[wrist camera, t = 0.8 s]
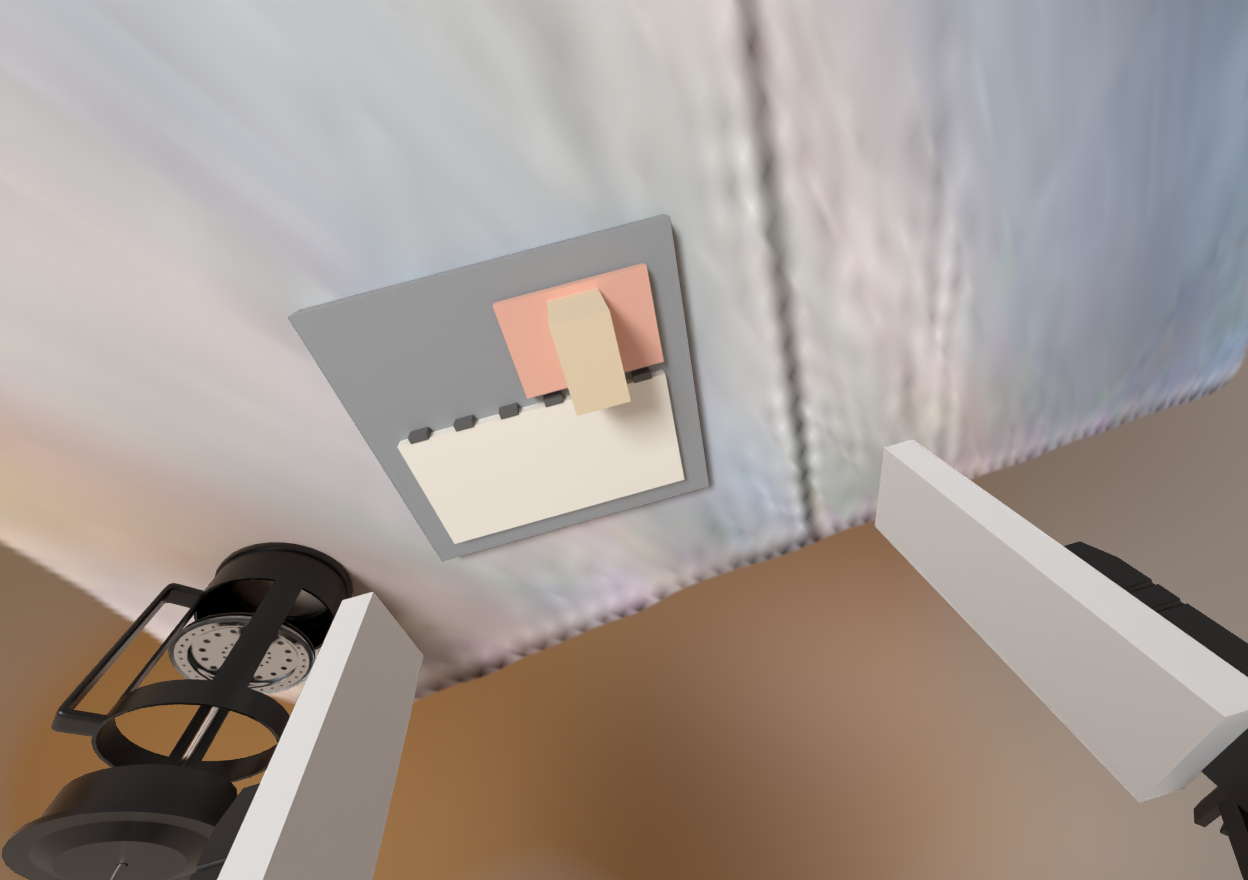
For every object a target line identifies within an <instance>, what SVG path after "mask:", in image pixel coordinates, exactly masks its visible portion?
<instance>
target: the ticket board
mask: <svg viewBox="0 0 1248 880" xmlns="http://www.w3.org/2000/svg"><path fill="white" fill-rule="evenodd" d="M641 263H644V264H646V266H647V271H648V277H649V282H650V288H651V293H652V299H653V304H654V310H655V316H656V321H657V327H658V332H659V338H660V343H661V349H662V354H663V360H664V362H661V363H657V364H653V365H650V366H646V367H642V368H639V369H635V370H631V371H628V372H624V374H625V378H626V383H627V387H628V391H629V395H630V400H631V402H627V403H623V404H620V405H616V406H612V407H609V408H605V409H601V410H598V411H594V412H590V413H587V414H583V415H579V416H577V415H576V411H575V408H574V405H573V402H572V399H571V396H570V392H569V389H568V388H565V389H561V390H558V391H554V392H550V393H547V394H543V395H539V396H536V397H532V398H528V399H527V397H526V394H525V391H524V389H523V386H522V383H521V381H520V378H519V375H518V373H517V370H516V367H515V365H514V362H513V359H512V357H511V354H510V351H509V349H508V346H507V343H506V341H505V338H504V335H503V333H502V330H501V327H500V325H499V322H498V320H497V317H496V314H495V312H494V309H493V303H494V302H498V301H502V300H506V299H509V298H513V297H517V296H521V295H525V294H528V293H532V292H536V291H540V290H543V289H547V288H551V287H555V286H558V285H562V284H566V283H570V282H573V281H577V280H581V279H585V278H589V277H592V276H596V275H600V274H604V273H607V272H611V271H615V270H619V269H622V268H626V267H630V266H634V265H637V264H641ZM288 319H289V320H290V322H291V323H292V325H293V327H294V328H295V330H296V331H297V333H298V335H299V336H300V338H301V339H302V341H303V342H304V344H305V346H306V347H307V349H308V350H309V352H310V354H311V355H312V357H313V358H314V360H315V361H316V363H317V365H318V366H319V368H320V369H321V371H322V373H323V374H324V376H325V377H326V379H327V380H328V382H329V384H330V385H331V387H332V388H333V390H334V392H335V393H336V395H337V396H338V398H339V399H340V401H341V403H342V404H343V406H344V407H345V409H346V411H347V412H348V414H349V415H350V417H351V418H352V420H353V422H354V423H355V425H356V426H357V428H358V430H359V431H360V433H361V434H362V436H363V437H364V439H365V441H366V442H367V444H368V445H369V447H370V449H371V450H372V452H373V453H374V455H375V456H376V458H377V460H378V461H379V463H380V464H381V466H382V468H383V469H384V471H385V472H386V474H387V475H388V477H389V479H390V480H391V482H392V483H393V485H394V487H395V488H396V490H397V491H398V493H399V494H400V496H401V498H402V499H403V501H404V502H405V504H406V506H407V507H408V509H409V510H410V512H411V513H412V515H413V517H414V518H415V520H416V521H417V523H418V525H419V526H420V528H421V529H422V531H423V532H424V534H425V536H426V537H427V539H428V540H429V542H430V544H431V545H432V547H433V548H434V550H435V551H436V553H437V555H438V556H439V558H440V559H441V561H446V560H449V559H453V558H456V557H460V556H463V555H467V554H470V553H474V552H478V551H481V550H485V549H488V548H492V547H495V546H499V545H502V544H506V543H510V542H513V541H517V540H520V539H524V538H527V537H531V536H534V535H538V534H542V533H545V532H549V531H552V530H556V529H559V528H563V527H567V526H570V525H574V524H577V523H581V522H584V521H588V520H591V519H595V518H599V517H602V516H606V515H609V514H613V513H616V512H620V511H623V510H627V509H631V508H634V507H638V506H641V505H645V504H648V503H652V502H655V501H659V500H663V499H666V498H670V497H673V496H677V495H680V494H684V493H688V492H691V491H695V490H698V489H702V488H705V487H709V483H708V476H707V469H706V462H705V455H704V448H703V441H702V435H701V428H700V421H699V414H698V407H697V400H696V393H695V386H694V379H693V372H692V366H691V359H690V352H689V345H688V338H687V331H686V324H685V317H684V310H683V303H682V297H681V290H680V283H679V276H678V269H677V262H676V255H675V248H674V241H673V234H672V228H671V221H670V216H667V215H664V214H663V215H659V216H655V217H651V218H648V219H644V220H640V221H636V222H632V223H629V224H625V225H621V226H617V227H613V228H610V229H606V230H602V231H598V232H594V233H591V234H587V235H583V236H579V237H575V238H572V239H568V240H564V241H560V242H556V243H553V244H549V245H545V246H541V247H537V248H533V249H530V250H526V251H522V252H518V253H514V254H511V255H507V256H503V257H499V258H495V259H492V260H488V261H484V262H480V263H476V264H473V265H469V266H465V267H461V268H457V269H454V270H450V271H446V272H442V273H438V274H435V275H431V276H427V277H423V278H419V279H416V280H412V281H408V282H404V283H400V284H397V285H393V286H389V287H385V288H381V289H378V290H374V291H370V292H366V293H362V294H359V295H355V296H351V297H347V298H343V299H340V300H336V301H332V302H328V303H324V304H320V305H317V306H313V307H309V308H305V309H301V310H299V311H297V312H295V313H294V314H292V315H290V316H289V317H288Z"/></svg>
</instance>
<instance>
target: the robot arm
mask: <svg viewBox="0 0 1248 880" xmlns="http://www.w3.org/2000/svg"><path fill="white" fill-rule="evenodd" d="M875 527H876V528H877V529H878V530H879V531H880V532H881V533H882V534H883V535H884V536H885V537H886V538H887V539H888V541H889V542H890V543H891V544H892V545H893V546H894V547H895V548H896V549H897V550H898V551H899V552H900V553H901V554H902V555H903V556H904V557H905V558H906V559H907V560H908V562H909V563H910V564H911V565H912V566H913V567H914V568H915V569H916V570H917V571H918V572H919V573H920V574H921V575H922V576H923V577H924V578H925V579H926V580H927V581H928V582H929V583H930V584H931V586H933V588H934V589H935V590H936V591H937V592H938V593H939V594H940V595H941V596H942V597H943V598H944V599H945V600H946V601H947V602H948V603H949V604H950V605H951V606H952V607H953V608H954V610H955V611H957V613H958V614H959V615H960V616H961V617H962V618H963V619H964V620H965V621H966V622H967V623H968V624H969V625H970V626H971V627H972V628H973V629H974V630H975V631H976V632H977V634H978V635H979V636H980V637H981V638H982V639H983V640H984V641H985V642H986V643H987V644H988V645H989V646H990V647H991V648H992V649H993V650H994V651H995V652H996V653H997V654H998V655H999V656H1000V658H1001V659H1002V660H1003V661H1004V662H1005V663H1006V664H1007V665H1008V666H1009V667H1010V668H1011V669H1012V670H1013V671H1014V672H1015V673H1016V674H1017V675H1018V676H1019V677H1020V678H1021V680H1022V681H1023V682H1024V683H1025V684H1026V685H1027V686H1028V687H1029V688H1030V689H1031V690H1032V691H1033V692H1034V693H1035V694H1036V695H1037V696H1038V697H1039V698H1040V699H1041V700H1042V702H1044V704H1046V706H1047V707H1048V708H1049V709H1050V710H1051V711H1052V712H1053V713H1054V714H1055V715H1056V716H1057V717H1058V718H1059V719H1060V720H1061V721H1062V722H1063V723H1064V724H1065V726H1067V728H1068V729H1069V730H1070V731H1071V732H1072V733H1073V734H1074V735H1075V736H1076V737H1077V738H1078V739H1079V740H1080V741H1081V742H1082V743H1083V744H1084V745H1085V746H1086V747H1087V748H1088V750H1089V751H1090V752H1091V753H1092V754H1093V755H1094V756H1095V757H1096V758H1097V759H1098V760H1099V761H1100V762H1101V763H1102V764H1103V765H1104V766H1105V767H1106V768H1107V769H1108V770H1109V772H1110V773H1111V774H1112V775H1113V776H1114V777H1115V778H1116V779H1117V780H1118V781H1119V782H1120V783H1121V784H1122V785H1123V786H1124V787H1125V788H1126V789H1127V790H1128V791H1129V792H1130V793H1131V794H1132V795H1133V796H1134V797H1135V799H1136V800H1137V801H1138V802H1139V803H1140V802H1143V801H1146V800H1149V799H1152V798H1156V797H1159V796H1162V795H1165V794H1168V793H1172V792H1174V791H1178V790H1181V789H1184V788H1185V787H1186V786H1187V785H1188V784H1189V783H1190V782H1191V781H1193V780H1194V778H1196V777H1197V776H1198V775H1199V774H1200V773H1201V772H1203V773H1204V774H1205V775H1206V776H1207V777H1208V778H1209V779H1210V780H1211V781H1213V782H1214V783H1215V784H1216V785H1217V786H1218V787H1217V788H1216V789H1214V790H1213V791H1212V792H1211V793H1210V794H1208V795H1207V796H1206V797H1205V798H1204V799H1202V800H1201V801H1200V803H1199V804H1198V805H1197V806H1196V807H1195V808H1194V822H1195V824H1198V825H1201V826H1203V827H1206V826H1207V825H1208V824H1210V823H1211V822H1212V821H1214V820H1215V819H1216V818H1217V817H1219V816H1220V815H1221V816H1222V819H1223V822H1224V823H1223V825H1222V827H1221V829H1220V833H1222V834H1224V835H1227V836H1229V839H1230V842H1231V845H1232V848H1233V851H1234V854H1235V856H1236V859H1237V862H1238V865H1239V868H1240V871H1241V874H1242V877H1243V879H1244V880H1248V643H1246V642H1245V641H1243V640H1242V639H1240V638H1239V637H1237V636H1236V635H1234V634H1233V633H1231V632H1230V631H1228V630H1226V629H1225V628H1224V627H1222V626H1220V625H1219V624H1217V623H1216V622H1215V621H1213V620H1212V619H1210V618H1208V617H1207V616H1206V615H1204V614H1202V613H1201V612H1200V611H1198V610H1196V609H1195V608H1194V607H1192V606H1190V605H1189V604H1184V603H1182V602H1181V601H1180V598H1178V597H1177V596H1175V595H1174V594H1172V593H1171V592H1169V591H1168V590H1166V589H1165V588H1163V587H1162V586H1160V585H1159V584H1157V585H1155V584H1153V583H1152V580H1151V579H1150V578H1148V577H1147V576H1145V575H1143V574H1142V573H1141V572H1139V571H1138V570H1136V569H1134V568H1133V567H1131V566H1130V565H1129V564H1127V563H1126V562H1124V561H1122V560H1121V559H1119V558H1118V557H1116V556H1113V555H1111V554H1109V553H1106V552H1104V551H1101V550H1099V549H1097V548H1094V547H1092V546H1089V545H1087V544H1085V543H1082V542H1076V543H1073V544H1069V545H1066V546H1062V545H1061V544H1059V543H1058V542H1056V541H1055V540H1054V539H1052V538H1051V537H1049V536H1048V535H1046V534H1045V533H1044V532H1042V531H1041V530H1039V529H1038V528H1037V527H1035V526H1034V525H1032V524H1031V523H1030V522H1028V521H1027V520H1025V519H1024V518H1023V517H1021V516H1020V515H1018V514H1017V513H1015V512H1014V511H1013V510H1011V509H1010V508H1009V507H1007V506H1006V505H1004V504H1003V503H1001V502H1000V501H999V500H997V499H996V498H995V497H993V496H992V495H990V494H989V493H987V492H986V491H985V490H983V489H982V488H980V487H979V486H978V485H976V484H975V483H973V482H972V481H971V480H969V479H968V478H966V477H965V476H964V475H962V474H961V473H959V472H958V471H956V470H955V469H954V468H952V467H951V466H949V465H948V464H947V463H945V462H944V461H942V460H941V459H940V458H938V457H937V456H935V455H934V454H933V453H931V452H930V451H928V450H927V449H926V448H924V447H923V446H921V445H920V444H918V443H917V442H916V441H914V440H913V439H912V440H909V441H905V442H902V443H898V444H895V445H891V446H887V447H884V452H883V460H882V469H881V477H880V486H879V494H878V503H877V511H876V520H875ZM423 658H424V656H423V654H422V653H421V652H420V650H419V649H418V648H417V647H416V645H415V644H414V643H413V641H412V640H411V639H410V638H409V636H408V635H407V634H406V633H405V631H404V630H403V629H402V627H401V626H400V625H399V624H398V622H397V621H396V620H395V619H394V617H393V616H392V615H391V613H390V612H389V611H388V610H387V608H386V607H385V606H384V604H383V603H382V602H381V601H380V599H379V598H378V597H377V596H376V594H375V593H374V592H370V593H367V594H363V595H360V596H356V597H352V598H349V599H345V600H342V602H341V605H340V607H339V609H338V611H337V613H336V616H335V618H334V620H333V622H332V625H331V627H330V629H329V631H328V634H327V636H326V638H325V640H324V642H323V645H322V647H321V649H320V651H319V654H318V656H317V658H316V660H315V663H314V665H313V667H312V669H311V671H310V674H309V676H308V678H307V680H306V683H305V685H304V687H303V689H302V692H301V694H300V696H299V698H298V700H297V703H296V705H295V707H294V709H293V712H292V714H291V716H290V718H289V720H288V723H287V725H286V727H285V729H284V732H283V734H282V736H281V738H280V741H279V743H278V745H277V747H276V749H275V752H274V754H273V756H272V758H271V761H270V763H269V765H268V767H267V770H266V772H265V774H264V776H263V778H262V781H261V783H259V784H256V785H253V786H249V787H246V788H243V789H242V791H241V792H240V793H239V795H238V796H237V797H236V799H235V800H234V801H233V803H232V804H231V805H230V807H229V808H228V810H227V811H226V812H225V814H224V815H223V816H222V818H221V819H220V820H219V822H218V823H217V824H216V826H215V828H214V830H213V832H212V834H211V836H210V838H209V840H208V842H207V844H206V846H205V848H204V851H203V853H202V855H201V857H200V859H199V861H198V863H197V865H196V866H197V870H196V872H195V873H193V874H192V875H191V877H190V879H189V880H373V876H374V871H375V867H376V863H377V858H378V854H379V849H380V845H381V841H382V837H383V831H384V828H385V823H386V819H387V815H388V810H389V806H390V802H391V797H392V793H393V788H394V784H395V780H396V775H397V771H398V766H399V762H400V758H401V754H402V749H403V745H404V740H405V735H406V732H407V727H408V723H409V719H410V714H411V710H412V706H413V701H414V697H415V693H416V688H417V684H418V679H419V675H420V671H421V666H422V662H423Z"/></svg>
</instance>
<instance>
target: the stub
mask: <svg viewBox="0 0 1248 880" xmlns="http://www.w3.org/2000/svg"><path fill="white" fill-rule="evenodd" d="M493 309H494V312H495V314H496V317H497V320H498V322H499V325H500V327H501V330H502V333H503V335H504V338H505V341H506V343H507V346H508V349H509V351H510V354H511V357H512V359H513V362H514V365H515V367H516V370H517V373H518V375H519V378H520V381H521V383H522V386H523V389H524V391H525V394H526V397H527V399H528V398H532V397H536V396H539V395H543V394H547V393H550V392H554V391H558V390H561V389H565V388H568V389H569V392H570V396H571V399H572V402H573V405H574V408H575V411H576V415H577V416H579V415H583V414H587V413H590V412H594V411H598V410H601V409H605V408H609V407H612V406H616V405H620V404H623V403H627V402H631V400H630V395H629V391H628V387H627V383H626V378H625V374H624V372H628V371H631V370H635V369H639V368H642V367H646V366H650V365H653V364H657V363H661V362H664V360H663V354H662V349H661V343H660V338H659V332H658V327H657V321H656V316H655V310H654V304H653V299H652V293H651V288H650V282H649V277H648V271H647V266H646V264H644V263H641V264H637V265H634V266H630V267H626V268H622V269H619V270H615V271H611V272H607V273H604V274H600V275H596V276H592V277H589V278H585V279H581V280H577V281H573V282H570V283H566V284H562V285H558V286H555V287H551V288H547V289H543V290H540V291H536V292H532V293H528V294H525V295H521V296H517V297H513V298H509V299H506V300H502V301H498V302H494V303H493Z"/></svg>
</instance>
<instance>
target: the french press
mask: <svg viewBox="0 0 1248 880" xmlns="http://www.w3.org/2000/svg"><path fill="white" fill-rule="evenodd" d="M242 580H268V581H275V582H274V583H273V585H272V586H271V588H270V589H269V591H268V593H267V594H266V596H265V597H264V599H263V600H262V602H261V604H260V605H259V607H258V608H257V609H255V608H253V607H252V606H250V605H249V604H247V603H246V602H245V601H244V600H243V599H242V598H241V597H240V595H239V594H238V592H237V590H236V587H235V581H242ZM301 590H304V591H306V592H308V593H310V594H312V595H313V596H314V597H316V598H317V599H318V600H320V601H321V602H322V603H323V604H324V605H325V606H326V608H325V609H324V610H322V611H320V612H318V613H316V614H313V615H309V616H304V617H290V618H289V617H287V615H288V613H289V611H290V609H291V608H292V606H293V604H294V602H295V600H296V599H297V597H298V595H299V593H300V591H301ZM352 592H353V588H352V582H351V580H350V578H349V576H348V574H347V572H346V571H345V570H344V569H343V568H342V566H341V565H339V564H338V563H337V562H336V561H335V560H333V559H332V558H330V557H328V556H327V555H325V554H323V553H321V552H318V551H316V550H314V549H311V548H308V547H304V546H300V545H296V544H288V543H262V544H255V545H251V546H248V547H244V548H242V549H240V550H238V551H236V552H234V553H232V554H231V555H230V556H228V557H227V558H226V559H225V560H224V561H223V562H222V563H221V565H220V566H219V568H218V569H217V571H216V574H215V578H214V579H213V580H212V582H211V583H210V584H209V585H208V587H207V588H206V589H205V590H204V591H203V590H199V589H195V588H191V587H188V586H184V585H180V584H176V583H172V584H169V585H168V586H166V587H165V588H164V589H163V590H162V592H161V593H160V594H159V595H158V596H157V597H156V598H155V600H154V601H153V602H152V603H151V604H150V605H149V606H148V607H147V609H146V610H145V611H144V612H143V613H142V614H141V615H140V616H139V618H138V619H137V620H136V621H135V622H134V623H133V624H132V625H131V627H130V628H129V629H128V630H127V631H126V632H125V633H124V635H123V636H122V637H121V638H120V639H119V640H118V641H117V643H116V644H115V645H114V646H113V647H112V648H111V649H110V651H108V653H107V654H106V655H105V656H104V657H103V658H102V659H101V661H100V662H99V663H98V664H97V665H96V666H95V667H94V668H93V670H92V671H91V672H90V673H89V674H88V675H87V676H86V678H85V679H84V680H83V681H82V682H81V683H80V685H78V687H77V688H76V689H75V690H74V691H73V692H72V693H71V694H70V696H69V697H68V698H67V699H66V700H65V701H64V703H63V704H62V705H61V706H60V707H59V709H58V711H57V712H56V715H55V718H54V720H53V723H52V727H51V728H52V729H53V730H55V731H58V732H64V733H71V734H78V735H85V736H92V746H93V750H94V751H95V753H96V754H97V755H98V757H99V758H100V759H101V760H102V761H104V762H105V763H106V764H108V765H109V766H110V767H112V768H107V769H102V770H99V771H95V772H92V773H88V774H85V775H83V776H81V777H79V778H76V779H74V780H72V781H71V782H70V783H68V784H67V785H66V786H64V787H63V788H62V790H61V791H60V792H59V793H58V795H57V796H56V797H55V799H54V800H53V801H52V803H51V804H50V805H49V807H48V808H47V809H46V811H45V812H44V813H43V814H42V816H41V817H40V818H39V819H36V820H34V821H32V822H30V823H28V824H26V825H24V826H23V827H21V828H20V829H18V830H17V831H16V832H14V834H13V835H12V836H11V838H10V839H9V840H8V842H7V843H6V845H5V846H4V847H3V850H2V858H3V860H4V862H5V864H6V865H7V866H8V867H9V868H10V869H12V870H13V871H14V872H15V873H17V874H19V875H21V876H23V877H25V878H27V879H29V880H189V879H190V877H191V875H192V874H193V873H195V872H196V870H197V866H196V865H197V863H198V861H199V859H200V857H201V855H202V853H203V851H204V848H205V846H206V844H207V842H208V840H209V838H210V836H211V834H212V832H213V830H214V828H215V826H216V824H217V823H218V822H219V820H220V819H221V818H222V816H223V815H224V814H225V812H226V811H227V810H228V808H229V807H230V805H231V804H232V803H233V801H234V800H235V799H236V797H237V789H236V787H235V786H234V785H233V784H232V783H231V782H236V781H239V780H243V779H246V778H250V777H252V776H254V775H257V774H259V773H261V772H263V771H265V770H266V769H267V767H268V765H269V763H270V761H271V758H272V756H273V754H274V752H275V749H276V747H277V745H278V744H276V745H275V746H273V747H272V748H270V749H269V750H266V751H264V752H261V753H259V754H256V755H253V756H249V757H246V758H240V759H234V760H227V761H226V760H225V761H202V759H203V757H204V755H205V753H206V752H207V750H208V748H209V747H210V745H211V743H212V741H213V740H214V738H215V736H216V734H217V732H218V731H219V729H220V727H221V725H222V724H223V722H224V720H225V718H226V716H227V715H228V713H229V711H233V712H236V713H239V714H242V715H245V716H248V717H250V718H252V719H254V720H256V721H258V722H260V723H261V724H262V725H264V726H265V727H266V728H268V729H269V730H270V731H271V732H272V734H273V735H274V736H275V737H276V740H277V742H278V743H279V741H280V738H281V736H282V734H283V732H284V729H285V727H286V725H287V723H288V720H289V718H290V716H289V714H288V713H287V711H286V710H285V709H284V707H283V706H281V705H280V704H279V703H278V702H277V701H275V700H274V699H272V698H271V697H269V696H267V695H265V694H270V693H276V692H280V691H284V690H287V689H290V688H292V687H294V686H296V685H298V684H300V683H301V682H303V681H304V680H305V679H306V678H307V677H308V676H309V674H310V671H311V669H312V667H313V665H314V663H315V650H316V649H318V648H320V647H322V645H323V642H324V640H325V638H326V636H327V634H328V631H329V629H330V627H331V625H332V622H333V620H334V618H335V616H336V613H337V611H338V609H339V607H340V605H341V602H342V600H345V599H349V598H352ZM165 603H172V604H176V605H180V606H184V607H188V608H190V610H189V611H188V612H187V613H186V615H185V616H184V617H183V619H182V620H181V621H180V622H179V624H178V625H177V626H176V627H175V629H174V630H173V631H172V633H171V634H170V635H169V636H168V638H167V639H166V640H165V641H164V643H163V644H162V645H161V647H160V648H159V649H158V650H157V652H156V653H155V654H154V655H153V657H152V658H151V659H150V661H149V662H148V663H147V664H146V666H145V667H144V668H143V670H142V671H141V672H140V673H139V675H138V676H137V677H136V678H135V680H134V681H133V682H132V684H131V685H130V686H129V687H128V689H127V690H126V691H125V692H124V694H123V695H122V696H121V697H120V699H119V700H118V701H117V703H116V704H115V706H114V707H113V708H112V709H111V710H110V712H109V713H108V714H107V715H102V714H96V713H90V712H83V711H77V710H74V709H75V707H76V706H77V705H78V704H79V703H80V702H81V700H82V699H83V698H84V697H85V696H86V695H87V693H88V692H89V691H90V690H91V689H92V688H93V686H94V685H95V684H96V683H97V682H98V681H99V679H100V678H101V677H102V676H103V675H104V673H105V672H106V671H107V670H108V669H109V668H110V666H111V665H112V664H113V663H114V662H115V661H116V659H117V658H118V657H119V656H120V655H121V654H122V652H123V651H124V650H125V649H126V648H127V647H128V645H129V644H130V643H131V642H132V641H133V640H134V638H135V637H136V636H137V635H138V634H139V633H140V631H141V630H142V629H143V628H144V627H145V625H146V624H147V623H148V622H149V621H150V620H151V618H152V617H153V616H154V615H155V614H156V613H157V611H158V610H159V609H160V608H161V607H162V606H163V604H165ZM193 615H194V619H195V622H192V623H191V624H189V625H188V626H186V627H185V628H184V626H185V625H186V624H187V622H188V621H189V620H190V619H191V617H192V616H193ZM183 628H184V629H183ZM182 629H183V630H182ZM168 647H169V649H168ZM167 649H168V652H169V659H170V661H171V663H172V664H173V666H174V667H175V668H176V669H177V670H178V672H179V673H181V674H182V675H183V676H185V677H186V678H187V679H186V680H172V681H165V682H158V683H154V684H150V685H147V686H144V687H140V688H138V686H139V685H140V683H141V682H142V681H143V679H144V678H145V677H146V676H147V675H148V673H149V672H150V671H151V669H152V668H153V667H154V665H155V664H156V663H157V662H158V660H159V659H160V658H161V656H162V655H163V654H164V652H165V651H166V650H167ZM318 654H319V653H318ZM317 656H318V655H317ZM305 683H306V682H305ZM304 685H305V684H304ZM137 688H138V689H137ZM301 692H302V691H301ZM300 694H301V693H300ZM299 696H300V695H299ZM296 703H297V702H296ZM173 704H184V705H201V706H200V707H199V709H198V711H197V712H196V714H195V716H194V717H193V718H192V720H191V722H190V723H189V725H188V726H187V728H186V730H185V731H184V733H183V734H182V736H181V738H180V739H179V741H178V742H177V744H176V746H175V747H174V749H173V750H172V752H171V754H170V755H169V757H167V756H164V755H160V754H156V753H153V752H151V751H148V750H146V749H143V748H141V747H139V746H138V745H136V744H134V743H132V742H130V741H129V740H128V739H127V738H126V737H125V736H124V735H122V734H121V732H120V731H119V729H118V728H117V726H116V722H115V717H118V716H120V715H122V714H124V713H126V712H130V711H134V710H137V709H140V708H146V707H152V706H159V705H173ZM295 705H296V704H295ZM292 712H293V711H292ZM291 714H292V713H291Z"/></svg>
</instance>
